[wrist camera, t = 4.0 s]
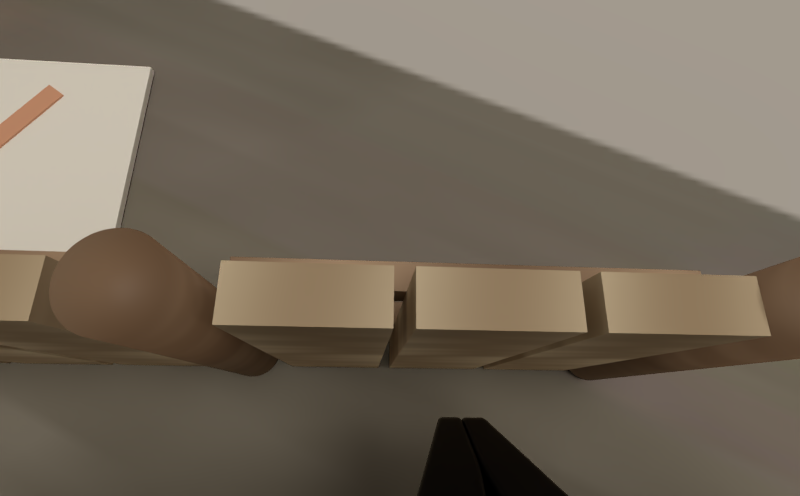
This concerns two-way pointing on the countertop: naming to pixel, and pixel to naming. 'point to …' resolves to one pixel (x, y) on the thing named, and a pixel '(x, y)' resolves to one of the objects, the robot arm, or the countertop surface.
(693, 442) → the countertop surface
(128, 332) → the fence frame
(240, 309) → the fence panel
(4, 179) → the card
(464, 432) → the robot arm
